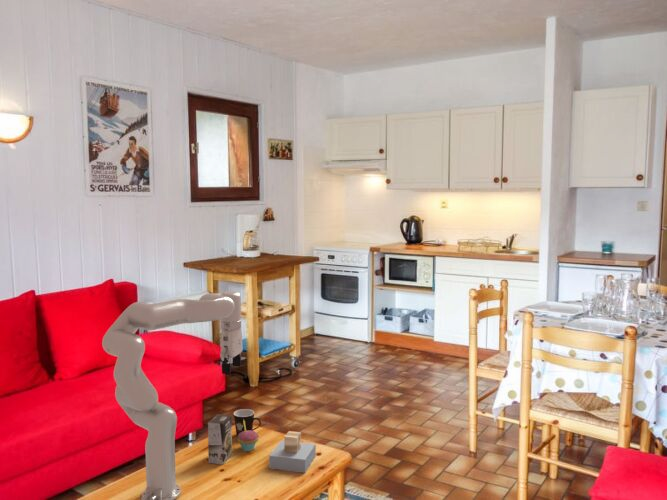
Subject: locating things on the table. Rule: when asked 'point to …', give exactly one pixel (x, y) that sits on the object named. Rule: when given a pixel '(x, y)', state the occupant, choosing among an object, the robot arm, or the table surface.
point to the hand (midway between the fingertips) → (231, 369)
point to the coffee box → (220, 438)
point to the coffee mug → (248, 418)
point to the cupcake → (247, 439)
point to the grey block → (292, 458)
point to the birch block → (292, 442)
